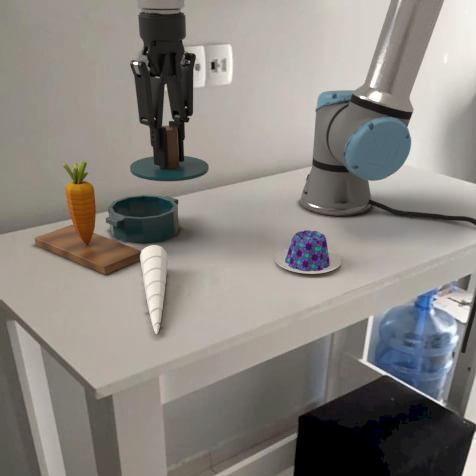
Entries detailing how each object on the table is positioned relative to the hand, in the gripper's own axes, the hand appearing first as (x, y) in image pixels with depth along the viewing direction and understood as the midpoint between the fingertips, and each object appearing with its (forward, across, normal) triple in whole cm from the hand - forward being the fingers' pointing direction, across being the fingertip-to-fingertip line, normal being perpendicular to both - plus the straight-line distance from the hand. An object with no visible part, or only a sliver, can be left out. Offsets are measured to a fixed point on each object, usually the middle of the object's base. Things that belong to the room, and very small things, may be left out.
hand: (169, 162), depth 114 cm
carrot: (+13, -14, +8) cm, 21 cm away
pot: (+15, 0, +8) cm, 17 cm away
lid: (+1, 0, 0) cm, 1 cm away
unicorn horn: (+15, -19, -14) cm, 28 cm away
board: (+15, -14, +8) cm, 22 cm away
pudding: (+15, +8, -26) cm, 31 cm away
